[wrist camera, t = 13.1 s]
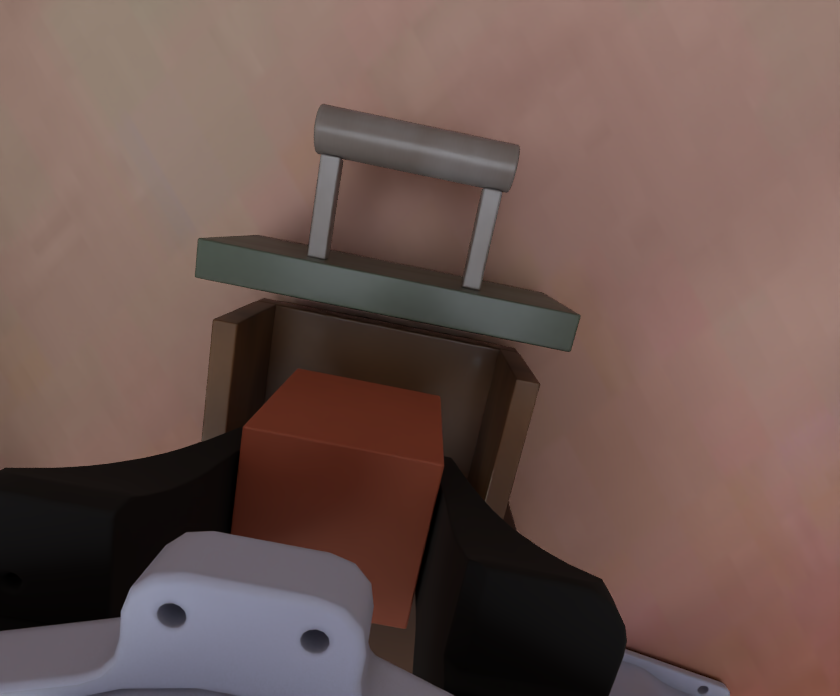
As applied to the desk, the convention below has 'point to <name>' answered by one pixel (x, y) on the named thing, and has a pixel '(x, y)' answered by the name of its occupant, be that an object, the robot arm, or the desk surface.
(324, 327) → the drawer
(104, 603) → the robot arm
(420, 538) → the block
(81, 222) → the desk surface
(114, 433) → the desk surface
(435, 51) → the desk surface
